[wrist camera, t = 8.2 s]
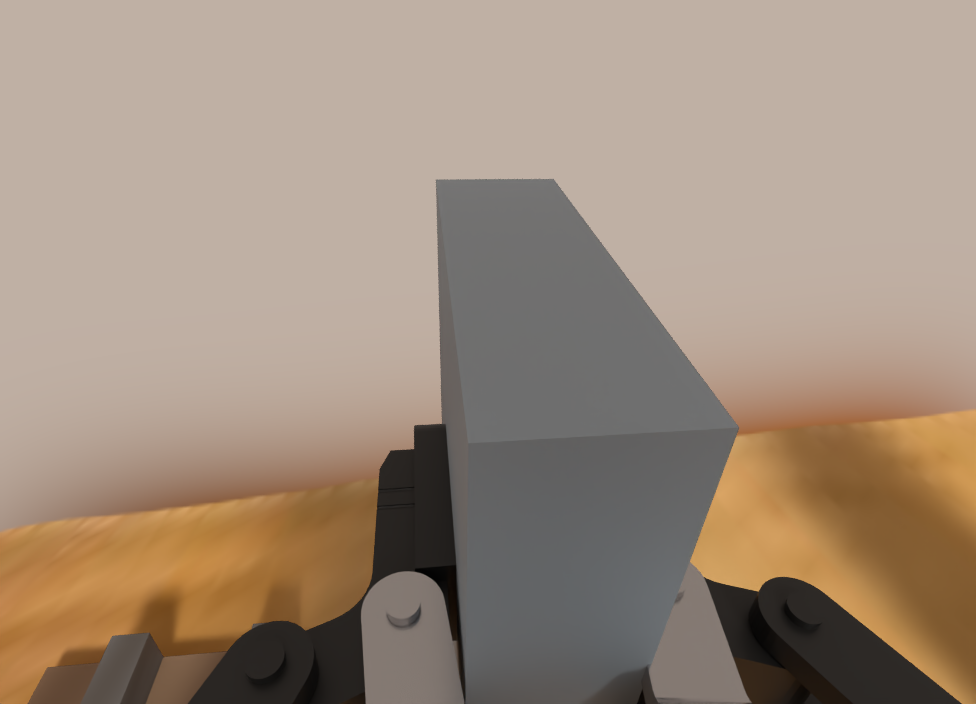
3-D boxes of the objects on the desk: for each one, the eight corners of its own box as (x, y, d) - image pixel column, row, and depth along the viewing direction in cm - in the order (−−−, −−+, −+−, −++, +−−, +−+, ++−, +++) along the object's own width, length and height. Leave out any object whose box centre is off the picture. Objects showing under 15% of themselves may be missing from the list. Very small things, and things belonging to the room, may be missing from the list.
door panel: (519, 541, 18) (553, 178, 12) (580, 855, 12) (739, 428, 5) (445, 547, 18) (436, 179, 11) (463, 872, 11) (467, 444, 5)
